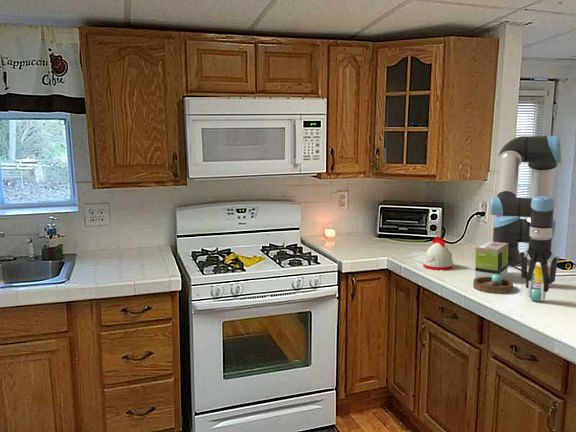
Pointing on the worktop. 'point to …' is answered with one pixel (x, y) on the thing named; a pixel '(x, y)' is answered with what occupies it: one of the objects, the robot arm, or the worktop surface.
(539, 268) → the supplement bottle
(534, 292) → the teal bead
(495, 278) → the teal bead
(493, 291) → the walnut tray
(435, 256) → the kitchen timer
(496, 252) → the tea box
